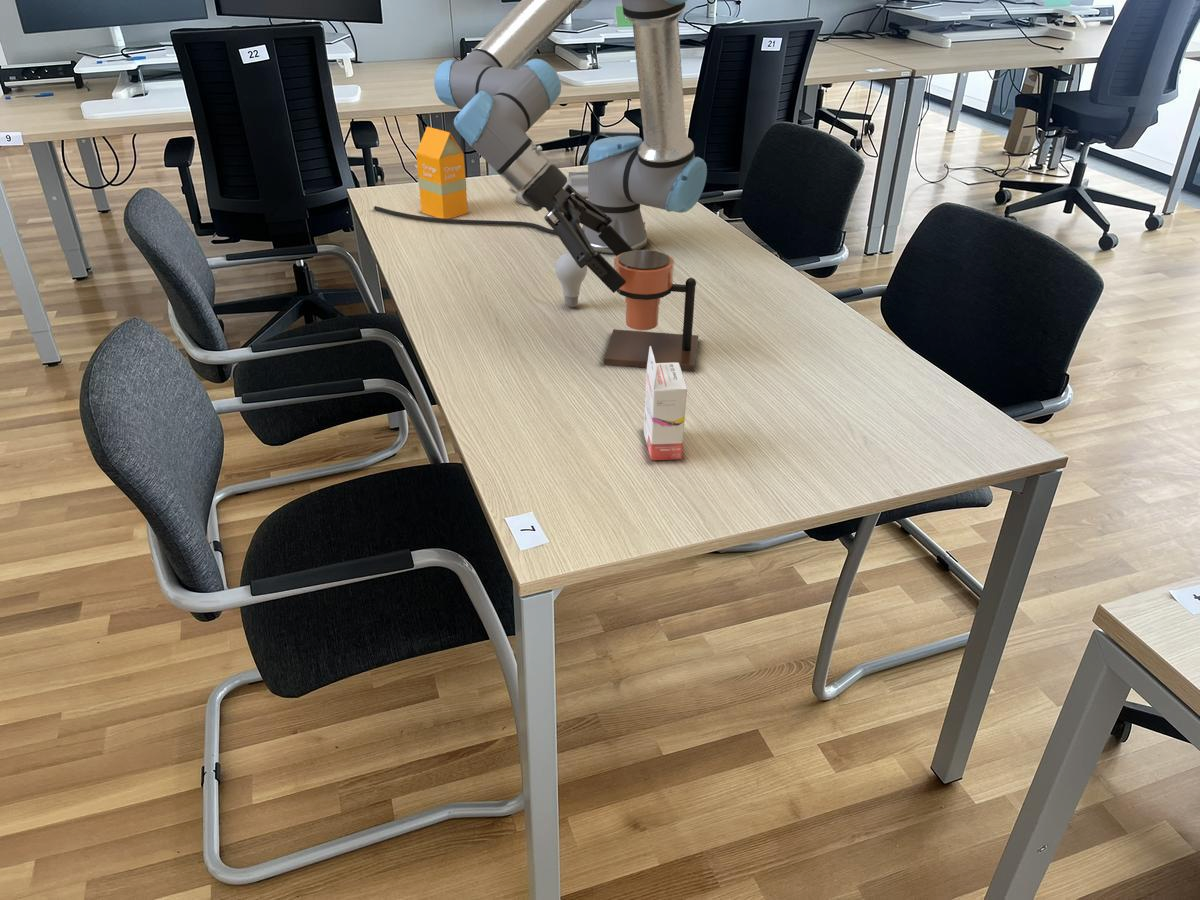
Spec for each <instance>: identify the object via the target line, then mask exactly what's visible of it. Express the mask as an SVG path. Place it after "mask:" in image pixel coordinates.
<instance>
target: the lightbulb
mask: <svg viewBox="0 0 1200 900" xmlns="http://www.w3.org/2000/svg"><path fill="white" fill-rule="evenodd" d="M554 271H555V275H556V277H557V279H558V281H559V283H560V284H561V288H562V295H563V296H564V305H565V306H566V307H568V308H570V309H573V308H574V307H576V306H577V305H578V304H579V295H580V291H581V286H582V283H583V282H584V280H585V278H586V276H587V273H588V266H587V265H585V266H584V267H583V268H580V267H579V266H578V264H577V263H576V261H575V260H574V259H573V257H572V256H571V254H570V253H569V251H568V252H565V253H563V254H561V255H560V256H559V257H558V258H557V260H556V262H555V266H554Z"/></svg>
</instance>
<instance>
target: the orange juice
mask: <svg viewBox="0 0 1200 900" xmlns="http://www.w3.org/2000/svg"><path fill="white" fill-rule="evenodd" d="M415 158H416V168H417V176H418V177H417V179H418V181H417V182H418V188H419V198H420V200H419V201H420V209H421V213H423V214H425V215H429V216H430V217H433V218H445V219H454V218H456V217H459V216H463V215H466V214H468V213H469V210H468V194H467V179H466V167H465V166H466V165H465V164H466V163H465V153H464V151H463V149H461V147H460V145H459V144H458V142H457V141H456V139H455V138H454V137H453V135H452V133H451V132H450V131H447V130H442V129H440V128H435V127H431V126H428V125H427V126H426V127H425V130H424V133H423V135H422V137H421V140H420V143H419V145H418V148H417V150H416V152H415Z"/></svg>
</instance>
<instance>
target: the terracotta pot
mask: <svg viewBox="0 0 1200 900" xmlns="http://www.w3.org/2000/svg"><path fill="white" fill-rule="evenodd" d="M613 268H614V269H615V270H616V271H617V272H618V273H619V274H620V275H621V276H622V277H623V279H624V280H625V281H626V283H625V284H624V285H623V286H621V287H620V288H619V289H620V290H622V291H625V292H629V293H634V294H657V293H661V292H664V291H667V290H669V289H670V288H671V287H672V285H673V284H674V269H675V260H674V258H673V257H672V256H671V255H669V254H667V253H664V252H660V251H657V250H652V249H640V250H633V251H628V252H624V253H622V254H619V255H618V256H616V255H615V258H614V261H613ZM624 297H625V296H624ZM624 303H625V325H626V326H627V327H628V328H630V329H632V330H635V331H649V330H653V329H655V328H657V326H658V325H659V309H660V308H659V307H660V304H661V298H657V299H651V300H641V299H632V298H628V297H625V298H624Z"/></svg>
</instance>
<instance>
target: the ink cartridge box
mask: <svg viewBox="0 0 1200 900" xmlns="http://www.w3.org/2000/svg"><path fill="white" fill-rule="evenodd" d="M651 362H652V363H651ZM644 394H645V395H644V415H643V435H644V439H645V444H646V447H647V450H648V454H649V458H650V461H669V460H682V459H683V448H684V436H685V435H684V433H685V421H686V420H685V419H686V408H687V407H686V406H687V395H688V387H687V383H686V380H685V378H684V374H683V372H682V371H681V368H680V365H679V363H656V362H655V359H654V355H653V351H652V348H651V346H650V348H649V355H648V362H647V368H646V374H645V393H644Z"/></svg>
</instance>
